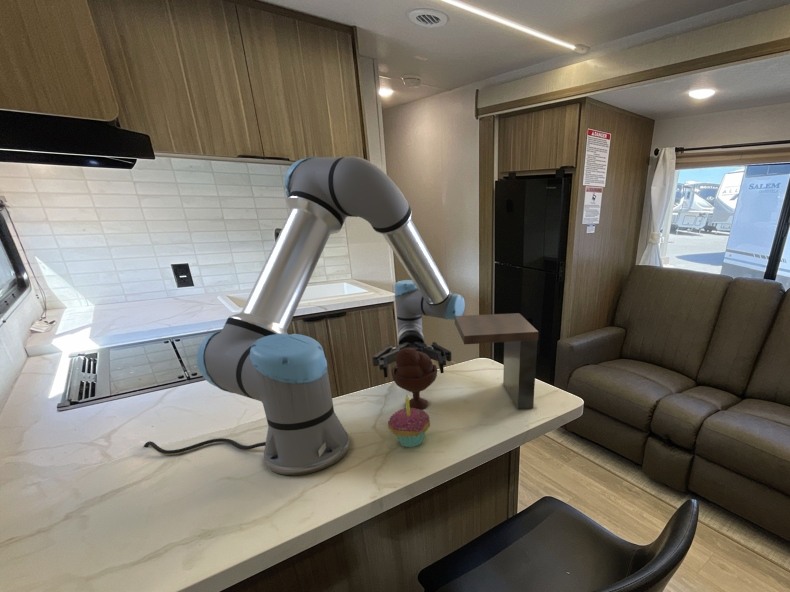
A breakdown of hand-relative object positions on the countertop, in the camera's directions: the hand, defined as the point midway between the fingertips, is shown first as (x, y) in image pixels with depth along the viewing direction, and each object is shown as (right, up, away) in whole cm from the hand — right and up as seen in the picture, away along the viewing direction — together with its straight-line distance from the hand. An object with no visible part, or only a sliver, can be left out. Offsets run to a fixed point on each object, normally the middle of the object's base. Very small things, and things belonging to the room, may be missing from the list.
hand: (414, 370), depth 98 cm
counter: (+19, -7, +6) cm, 21 cm away
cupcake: (+2, -15, -13) cm, 20 cm away
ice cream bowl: (0, -9, +2) cm, 9 cm away
